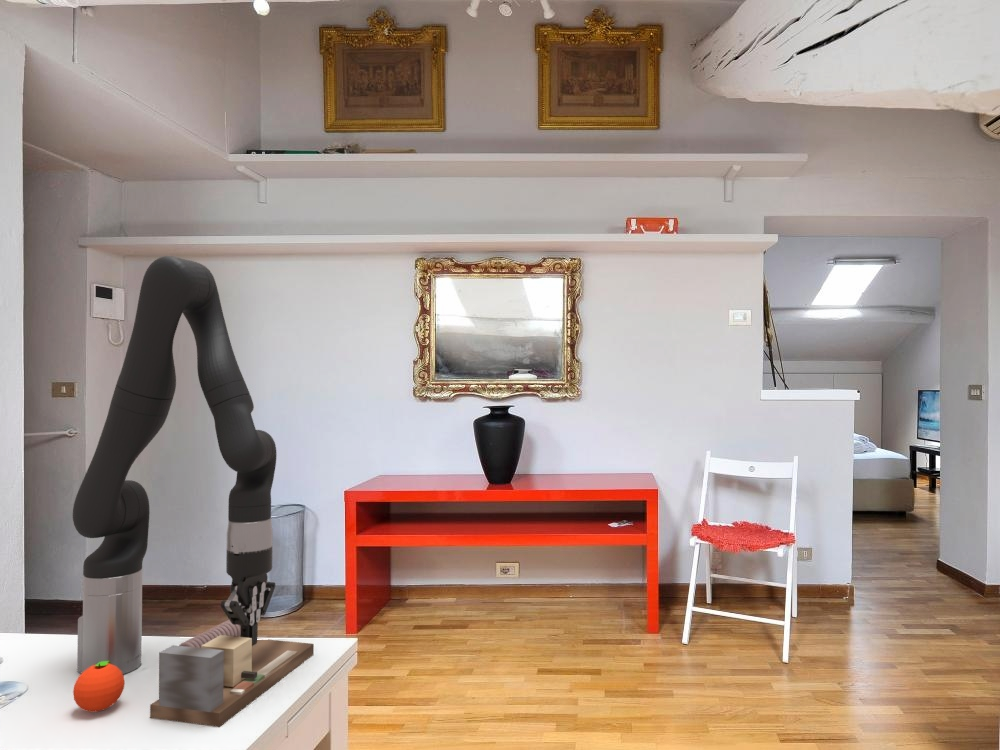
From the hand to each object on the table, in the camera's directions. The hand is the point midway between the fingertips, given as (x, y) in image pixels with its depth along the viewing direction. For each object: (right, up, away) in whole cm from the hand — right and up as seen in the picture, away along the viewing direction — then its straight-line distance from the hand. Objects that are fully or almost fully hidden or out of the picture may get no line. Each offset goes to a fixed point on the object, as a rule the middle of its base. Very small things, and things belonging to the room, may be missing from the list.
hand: (249, 645), depth 117 cm
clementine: (-19, -6, -11) cm, 23 cm away
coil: (-11, -6, +12) cm, 17 cm away
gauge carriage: (-1, -3, -8) cm, 8 cm away
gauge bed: (-1, -6, -2) cm, 6 cm away
